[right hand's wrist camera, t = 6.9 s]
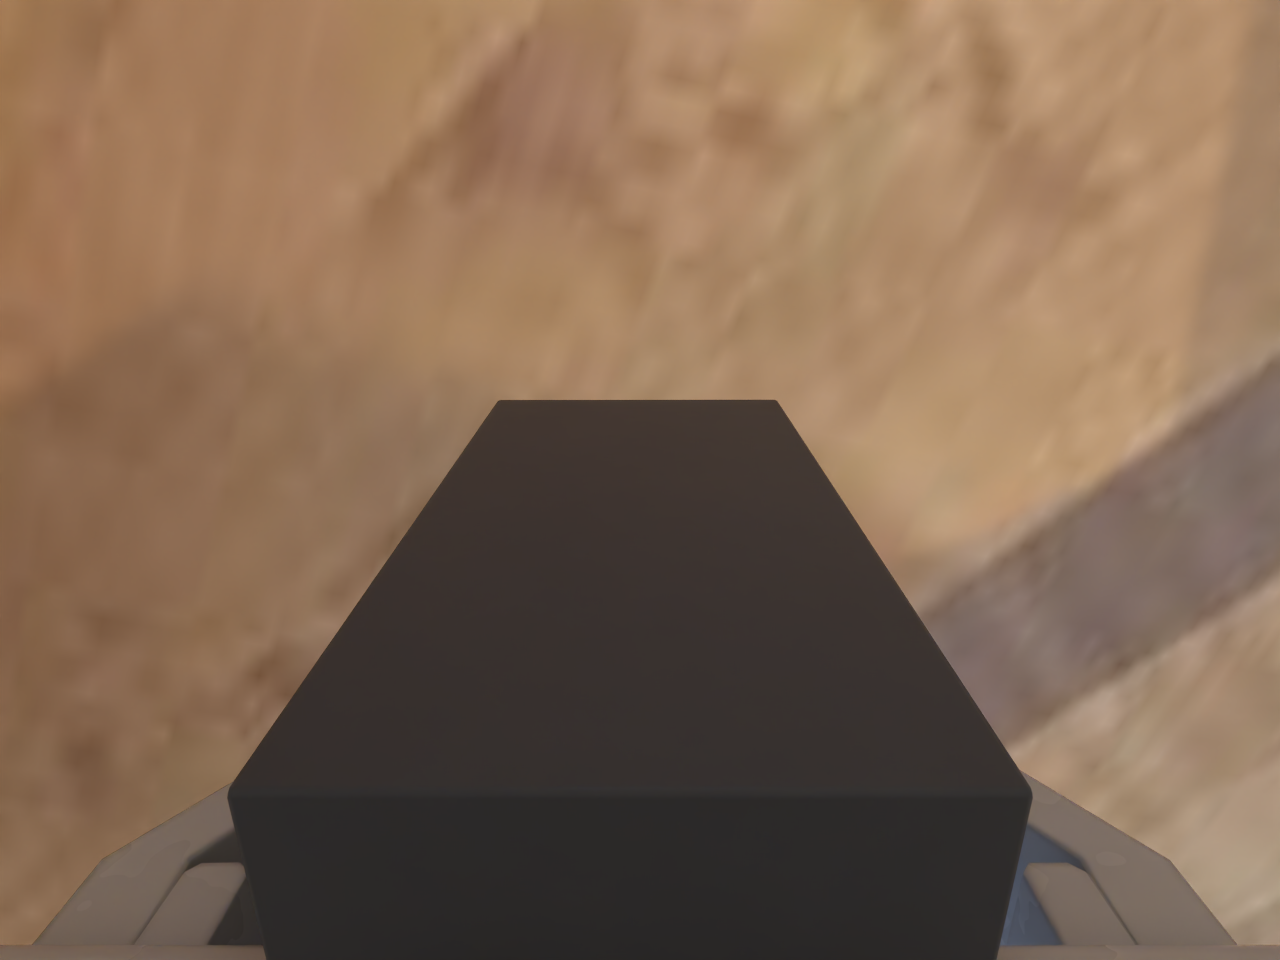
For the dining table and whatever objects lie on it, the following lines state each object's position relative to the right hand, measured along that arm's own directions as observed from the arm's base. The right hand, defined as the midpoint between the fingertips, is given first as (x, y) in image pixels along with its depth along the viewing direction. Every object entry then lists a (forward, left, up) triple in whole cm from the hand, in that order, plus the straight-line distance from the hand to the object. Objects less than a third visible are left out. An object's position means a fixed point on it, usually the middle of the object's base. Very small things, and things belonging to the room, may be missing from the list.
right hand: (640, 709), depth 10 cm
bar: (-10, +3, -3) cm, 10 cm away
